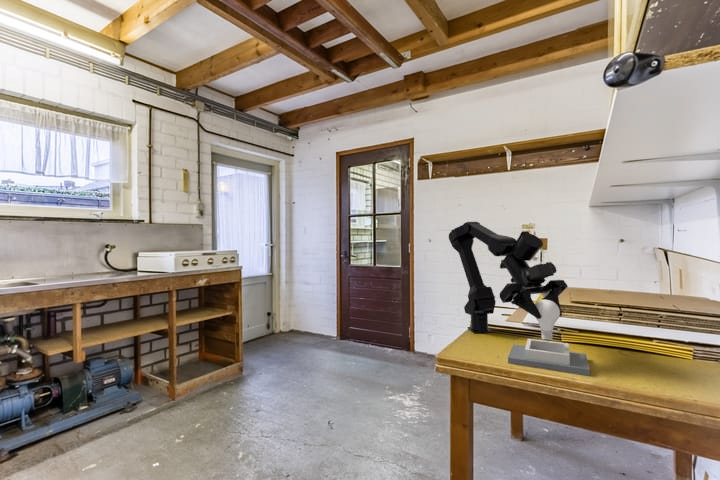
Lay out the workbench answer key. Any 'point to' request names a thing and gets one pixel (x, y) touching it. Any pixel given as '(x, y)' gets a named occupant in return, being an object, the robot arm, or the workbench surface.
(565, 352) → the holder
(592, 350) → the workbench surface
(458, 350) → the workbench surface
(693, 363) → the workbench surface
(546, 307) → the lightbulb
